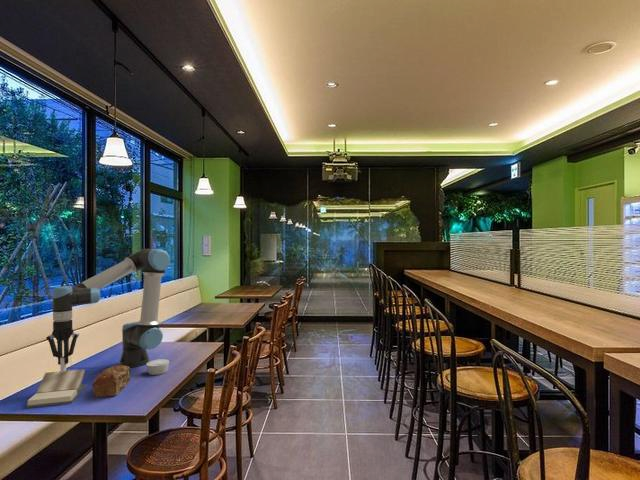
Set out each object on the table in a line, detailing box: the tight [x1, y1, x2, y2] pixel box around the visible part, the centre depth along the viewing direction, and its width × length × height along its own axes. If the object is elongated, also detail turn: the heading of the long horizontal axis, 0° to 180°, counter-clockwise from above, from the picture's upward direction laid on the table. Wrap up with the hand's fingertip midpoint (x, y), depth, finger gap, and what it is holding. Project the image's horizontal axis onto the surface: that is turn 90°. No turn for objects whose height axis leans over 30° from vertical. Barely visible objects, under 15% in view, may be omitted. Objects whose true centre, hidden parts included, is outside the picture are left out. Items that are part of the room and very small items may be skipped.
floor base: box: [25, 383, 88, 409], centre depth 177 cm, size 17×20×3 cm
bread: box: [92, 364, 131, 398], centre depth 185 cm, size 19×11×10 cm, turn 7°
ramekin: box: [145, 358, 170, 376], centre depth 208 cm, size 11×11×5 cm
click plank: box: [35, 369, 86, 394], centre depth 181 cm, size 16×11×2 cm
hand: (63, 371), depth 183 cm, fingers closed
